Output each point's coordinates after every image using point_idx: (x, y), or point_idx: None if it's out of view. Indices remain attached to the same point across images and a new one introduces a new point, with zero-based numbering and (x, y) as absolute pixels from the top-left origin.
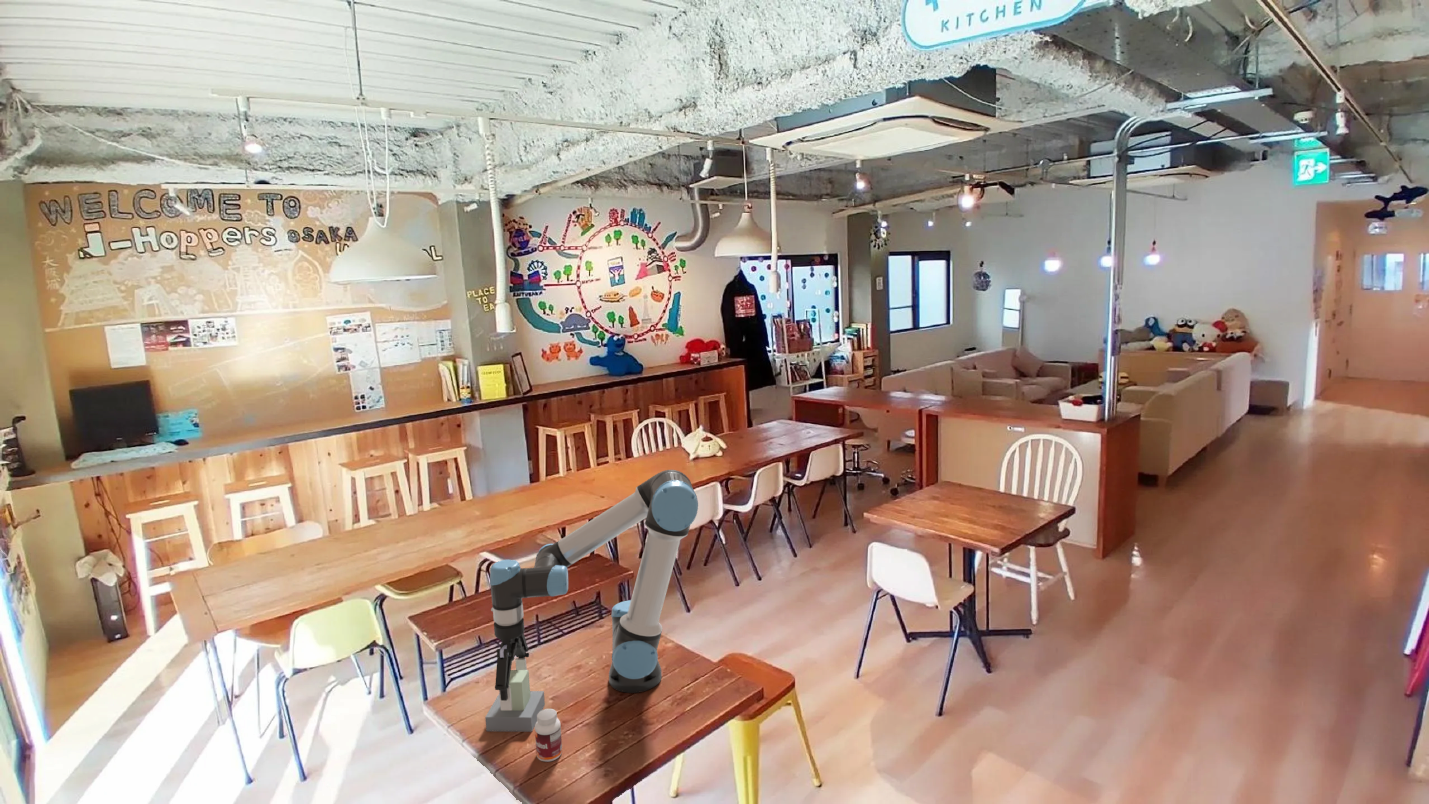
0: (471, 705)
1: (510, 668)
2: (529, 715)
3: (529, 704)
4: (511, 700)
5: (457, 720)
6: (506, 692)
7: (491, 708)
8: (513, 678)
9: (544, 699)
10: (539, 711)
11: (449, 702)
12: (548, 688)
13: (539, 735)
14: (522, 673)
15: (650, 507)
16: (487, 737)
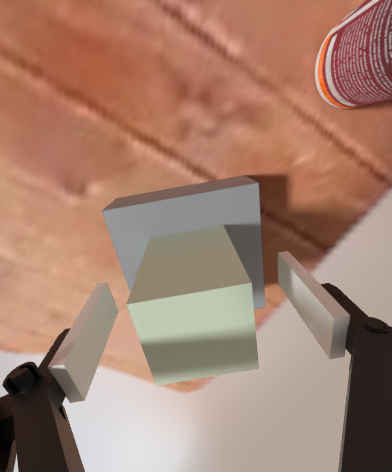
0: None
1: (361, 422)
2: (248, 193)
3: (188, 222)
4: (292, 269)
5: None
6: (344, 306)
7: None
8: (219, 332)
9: (112, 202)
10: (169, 191)
11: (170, 386)
12: (39, 224)
13: None
14: (167, 315)
15: None
16: (275, 270)
